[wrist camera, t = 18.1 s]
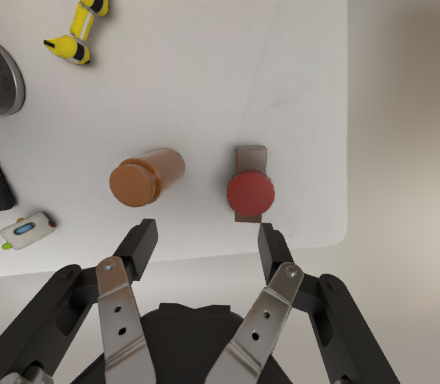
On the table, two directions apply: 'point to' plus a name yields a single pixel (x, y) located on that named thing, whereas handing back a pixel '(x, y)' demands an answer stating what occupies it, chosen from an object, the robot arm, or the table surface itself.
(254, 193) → the jar lid
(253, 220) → the lid rest
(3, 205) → the game console
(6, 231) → the roller toy
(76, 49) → the yellow curved piece
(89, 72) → the table surface
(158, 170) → the jar
